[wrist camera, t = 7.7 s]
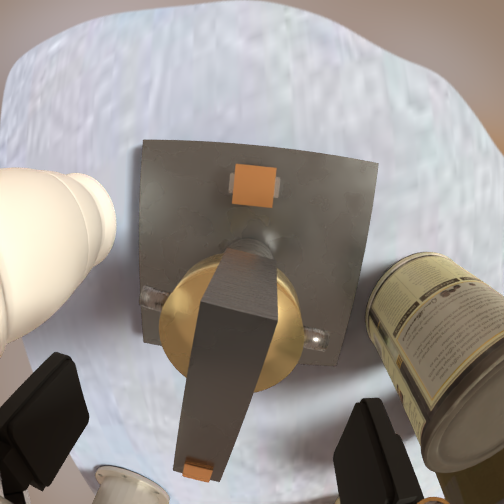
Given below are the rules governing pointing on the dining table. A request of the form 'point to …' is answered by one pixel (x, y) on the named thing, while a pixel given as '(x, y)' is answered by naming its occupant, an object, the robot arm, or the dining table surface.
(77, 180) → the jar
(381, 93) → the dining table surface
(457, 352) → the coffee can
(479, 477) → the canister
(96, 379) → the dining table surface
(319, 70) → the dining table surface
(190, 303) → the latch lever
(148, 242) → the lever latch plate
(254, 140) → the dining table surface
